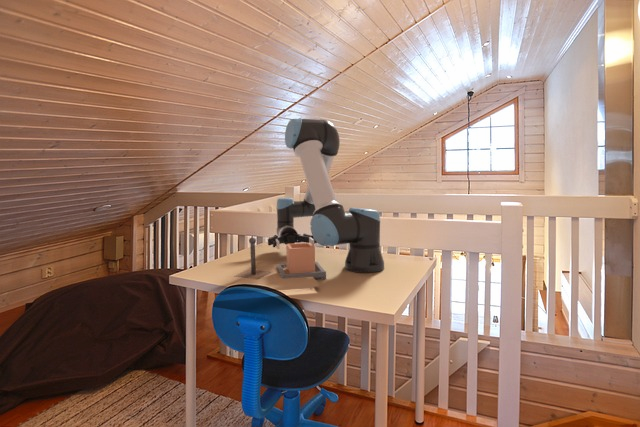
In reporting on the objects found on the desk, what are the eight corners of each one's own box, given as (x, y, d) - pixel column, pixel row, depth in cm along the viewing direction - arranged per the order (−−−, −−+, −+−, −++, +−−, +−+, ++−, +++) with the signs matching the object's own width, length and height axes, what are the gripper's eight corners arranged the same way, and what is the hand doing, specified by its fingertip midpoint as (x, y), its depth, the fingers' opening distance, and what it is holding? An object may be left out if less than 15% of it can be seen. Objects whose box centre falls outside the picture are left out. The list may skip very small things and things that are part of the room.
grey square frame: (317, 267, 154) (316, 261, 154) (326, 278, 139) (326, 272, 139) (277, 270, 151) (277, 264, 151) (282, 282, 136) (282, 275, 136)
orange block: (310, 268, 151) (310, 242, 149) (315, 274, 142) (314, 247, 141) (286, 270, 149) (286, 243, 147) (290, 276, 140) (289, 248, 139)
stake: (273, 275, 144) (271, 235, 142) (258, 283, 135) (257, 241, 133) (249, 273, 148) (248, 234, 146) (233, 280, 139) (232, 239, 137)
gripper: (316, 242, 177) (327, 252, 157) (260, 245, 172) (263, 256, 151) (316, 225, 176) (327, 233, 156) (259, 228, 171) (263, 236, 151)
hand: (296, 244), depth 154 cm, fingers open, 13 cm apart
